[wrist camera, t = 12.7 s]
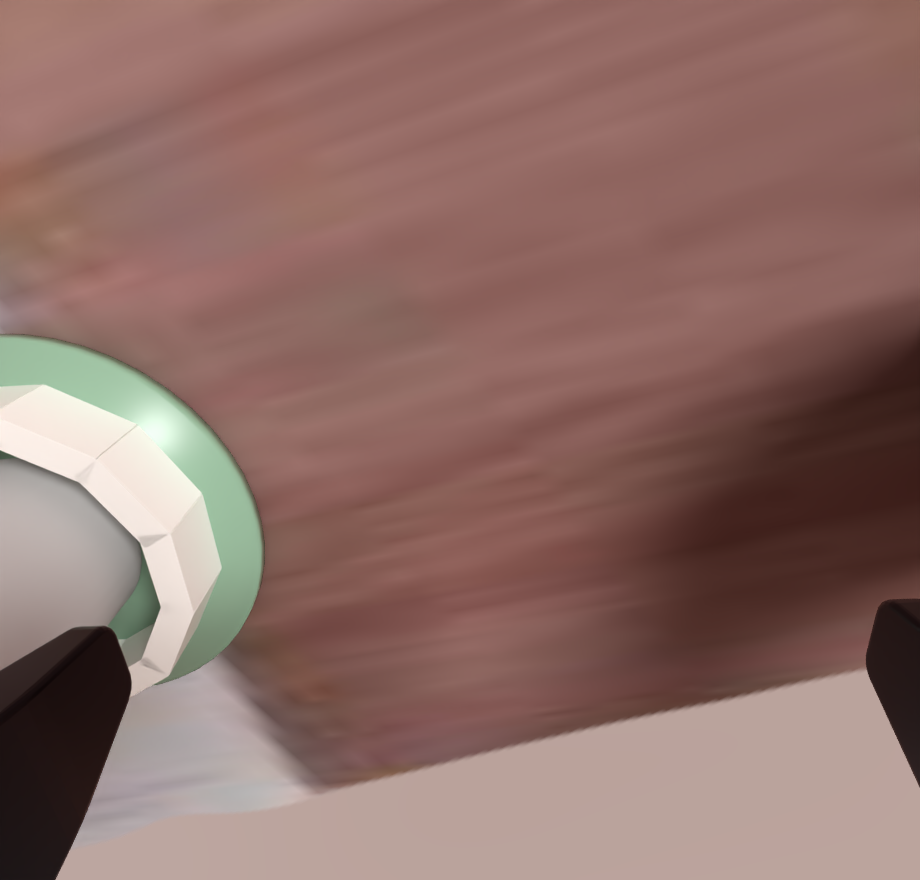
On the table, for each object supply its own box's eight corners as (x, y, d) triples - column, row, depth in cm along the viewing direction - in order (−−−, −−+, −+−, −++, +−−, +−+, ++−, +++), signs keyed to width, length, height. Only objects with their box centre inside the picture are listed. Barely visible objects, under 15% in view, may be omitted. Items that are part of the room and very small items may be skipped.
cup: (216, 321, 20) (173, 350, 17) (295, 674, 25) (273, 738, 23) (-221, 346, 20) (-330, 377, 18) (-47, 683, 26) (-109, 746, 23)
